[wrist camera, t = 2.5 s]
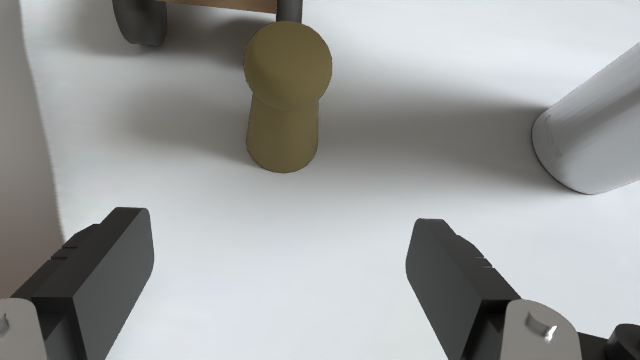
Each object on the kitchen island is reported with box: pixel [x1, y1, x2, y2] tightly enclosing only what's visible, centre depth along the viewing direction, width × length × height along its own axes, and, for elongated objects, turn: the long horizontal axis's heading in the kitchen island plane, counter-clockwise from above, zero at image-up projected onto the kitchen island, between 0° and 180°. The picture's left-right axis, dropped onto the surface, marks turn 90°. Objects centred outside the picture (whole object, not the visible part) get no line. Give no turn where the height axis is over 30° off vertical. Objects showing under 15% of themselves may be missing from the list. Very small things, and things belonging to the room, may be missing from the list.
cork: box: [243, 21, 332, 173], centre depth 23 cm, size 6×6×11 cm
